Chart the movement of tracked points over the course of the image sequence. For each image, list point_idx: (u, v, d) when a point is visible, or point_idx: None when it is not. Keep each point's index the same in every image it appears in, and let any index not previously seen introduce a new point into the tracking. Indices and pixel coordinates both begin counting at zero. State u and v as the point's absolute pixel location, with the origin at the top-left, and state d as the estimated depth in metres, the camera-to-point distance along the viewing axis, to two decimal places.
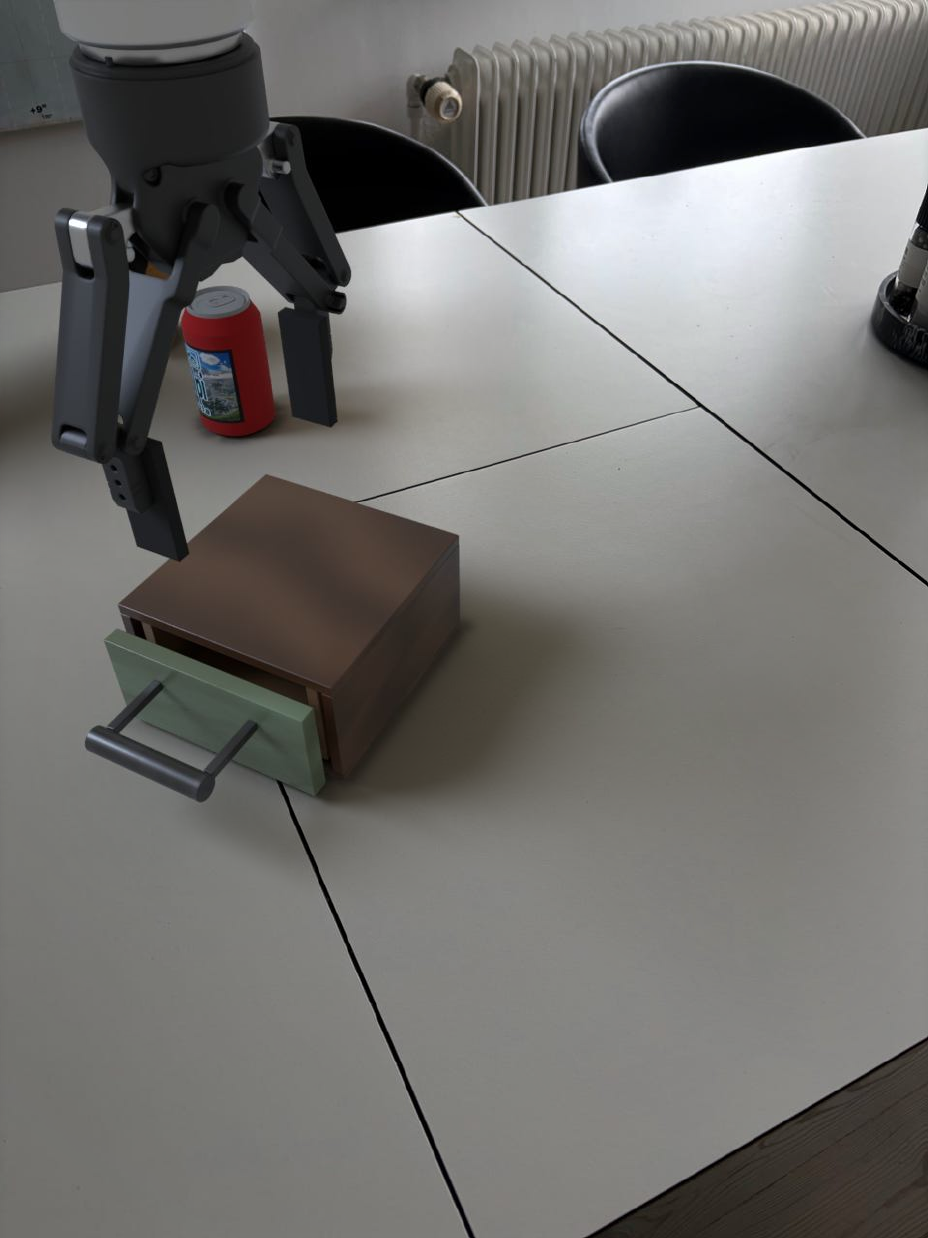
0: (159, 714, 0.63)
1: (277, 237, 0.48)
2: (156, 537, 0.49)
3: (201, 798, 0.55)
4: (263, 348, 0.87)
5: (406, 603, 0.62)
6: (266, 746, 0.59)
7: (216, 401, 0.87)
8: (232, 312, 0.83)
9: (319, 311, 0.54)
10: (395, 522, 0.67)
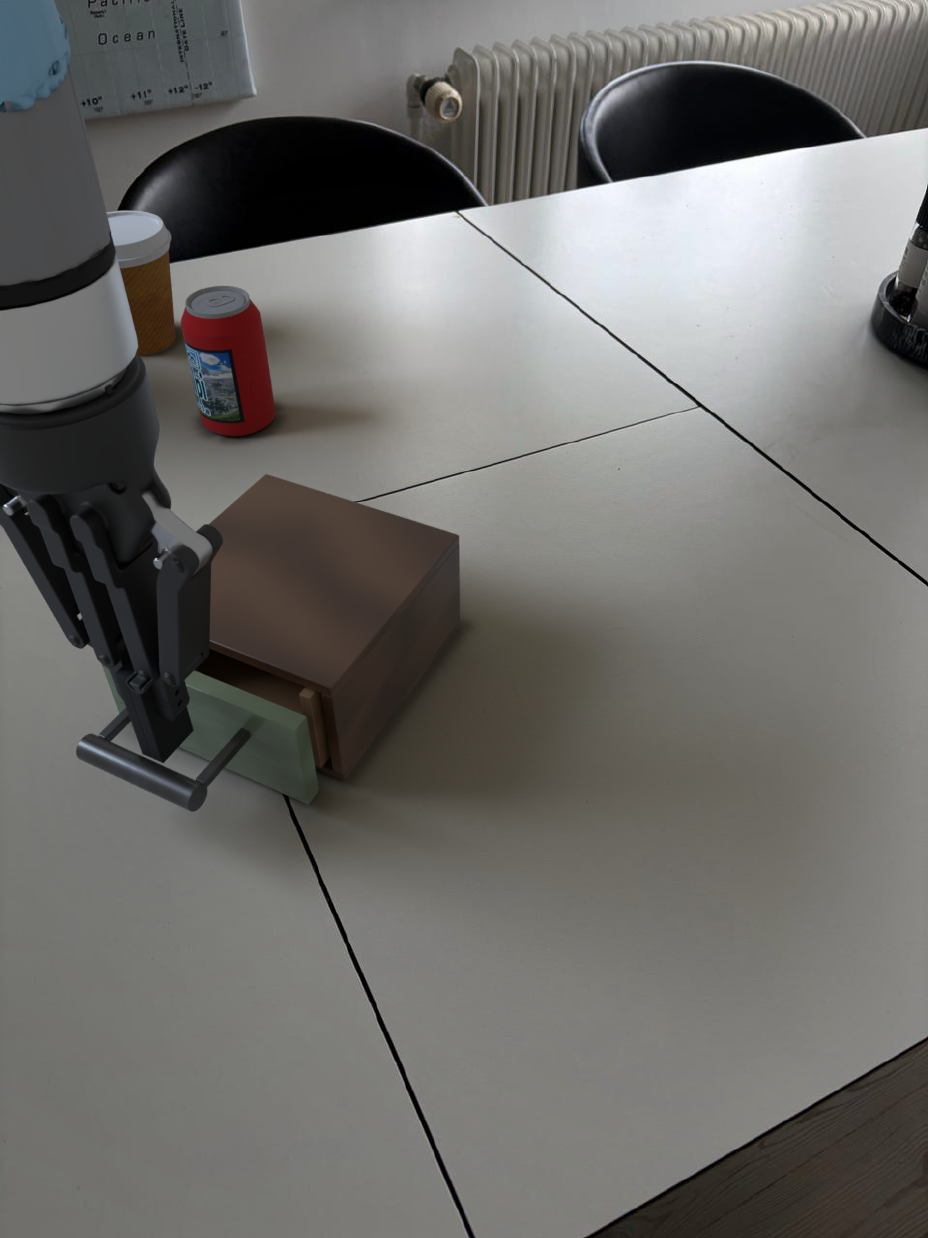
0: None
1: None
2: (177, 731, 0.56)
3: (193, 807, 0.54)
4: (263, 348, 0.87)
5: (406, 603, 0.62)
6: (259, 754, 0.59)
7: (216, 401, 0.87)
8: (232, 312, 0.83)
9: None
10: (395, 522, 0.67)
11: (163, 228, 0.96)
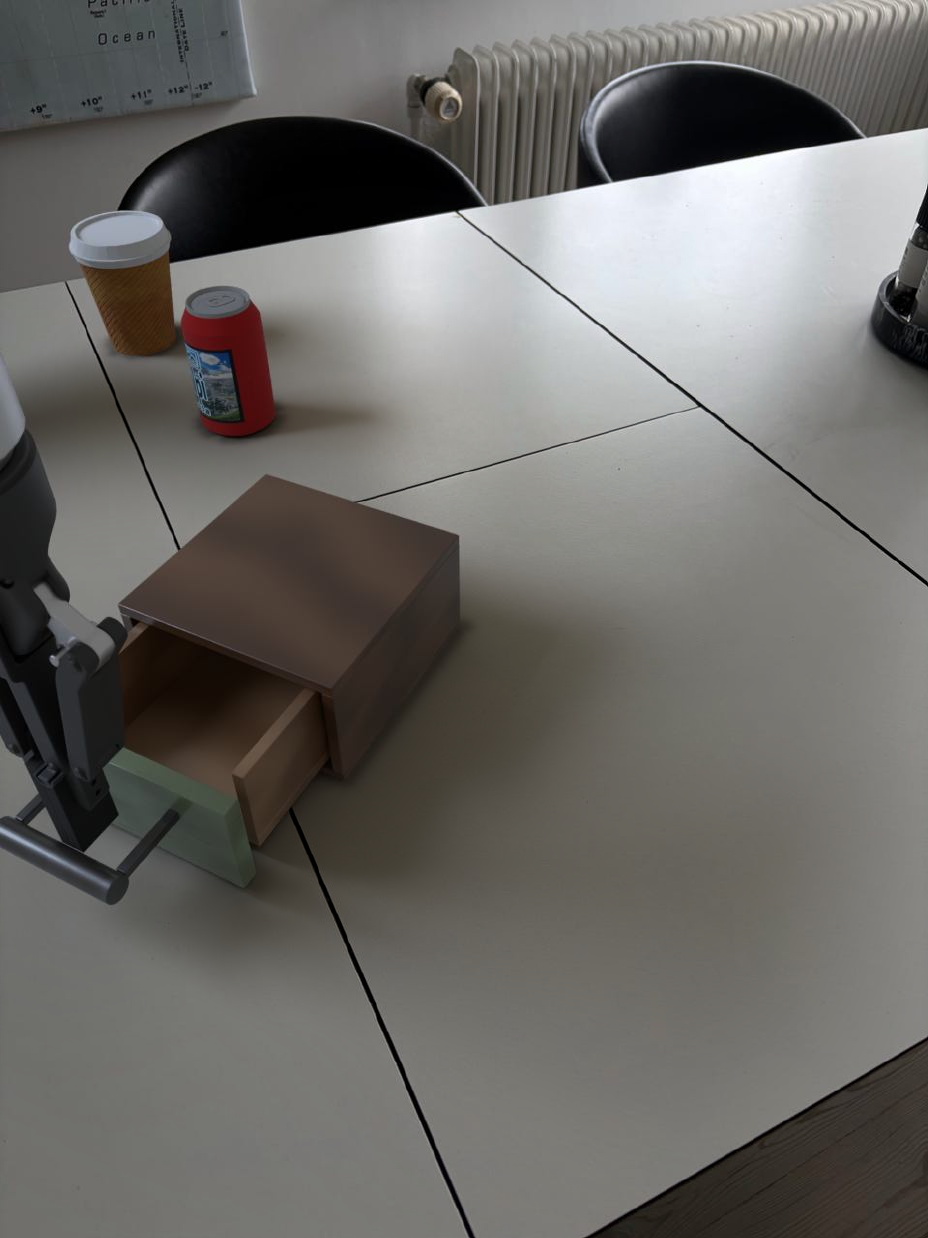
0: None
1: None
2: (98, 818, 0.52)
3: (112, 901, 0.50)
4: (263, 348, 0.87)
5: (406, 603, 0.62)
6: (190, 835, 0.55)
7: (216, 401, 0.87)
8: (232, 312, 0.83)
9: None
10: (395, 522, 0.67)
11: (163, 228, 0.96)
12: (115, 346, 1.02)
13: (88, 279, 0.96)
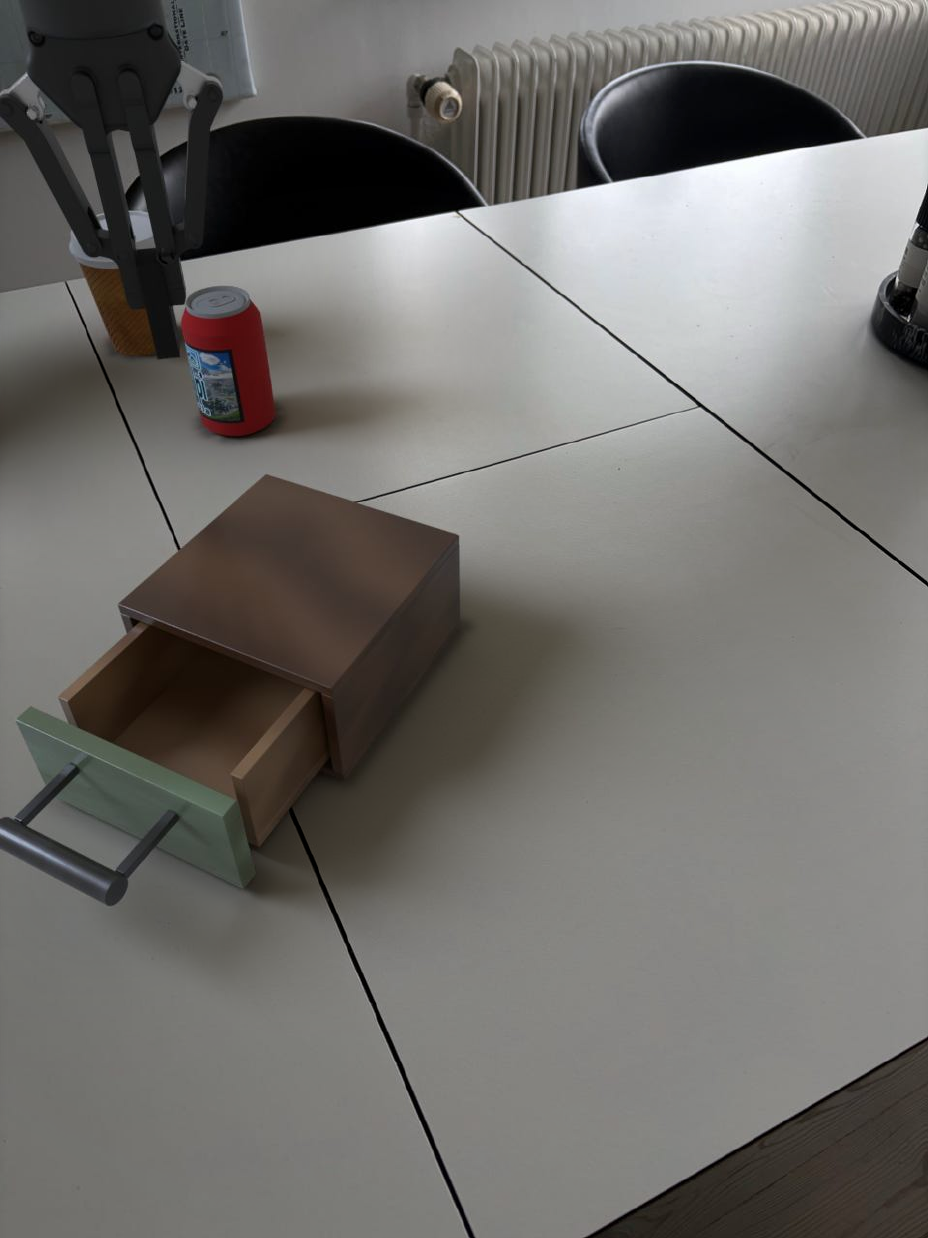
0: (79, 796, 0.59)
1: (143, 144, 0.59)
2: None
3: (111, 902, 0.50)
4: (263, 348, 0.87)
5: (406, 603, 0.62)
6: (189, 836, 0.55)
7: (216, 401, 0.87)
8: (232, 312, 0.83)
9: None
10: (395, 522, 0.67)
11: None
12: (115, 346, 1.02)
13: (88, 279, 0.96)
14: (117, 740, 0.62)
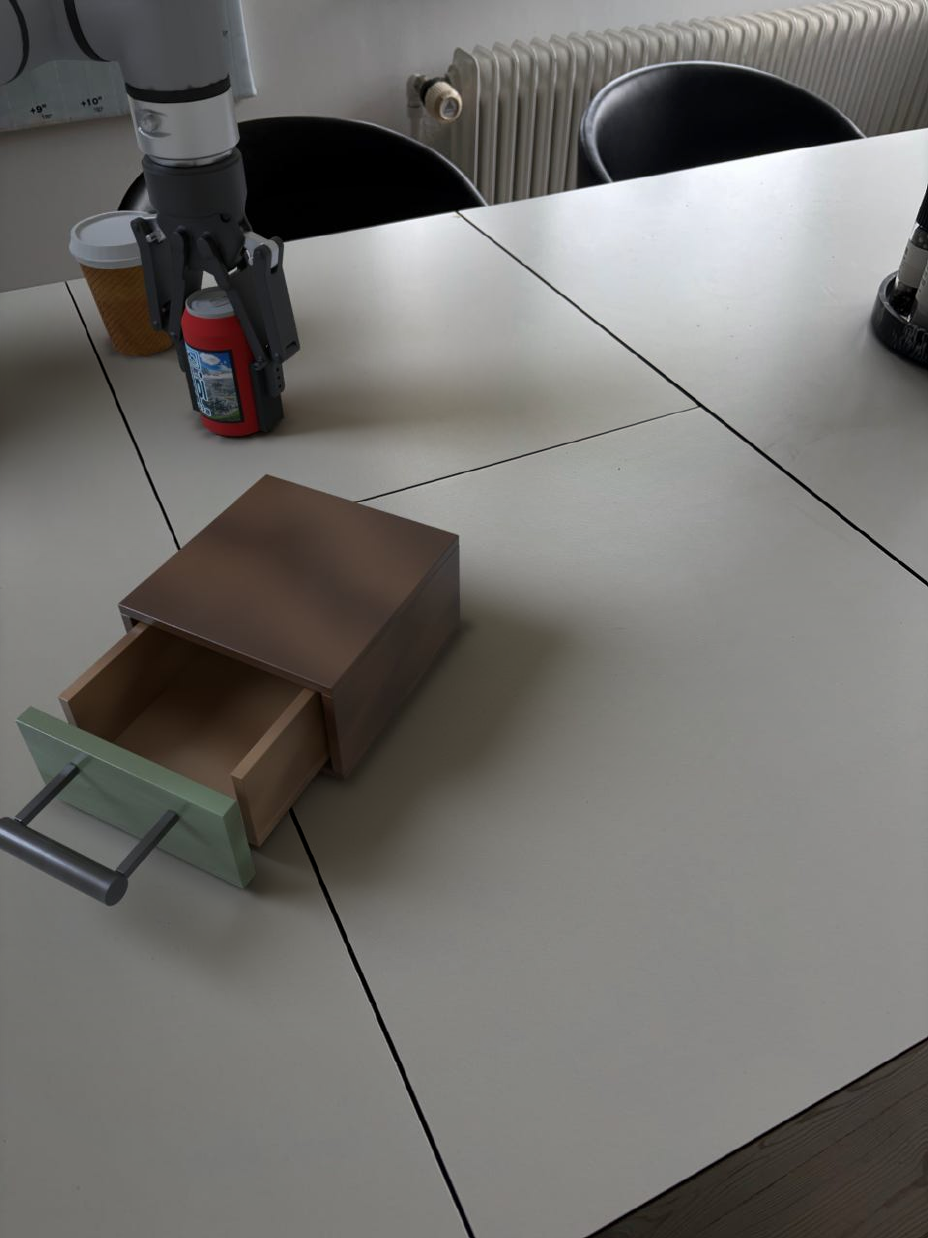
0: (79, 796, 0.59)
1: (223, 285, 0.81)
2: None
3: (111, 902, 0.50)
4: None
5: (406, 603, 0.62)
6: (189, 836, 0.55)
7: (216, 401, 0.87)
8: (232, 312, 0.83)
9: None
10: (395, 522, 0.67)
11: None
12: (115, 346, 1.02)
13: (88, 279, 0.96)
14: (117, 740, 0.62)
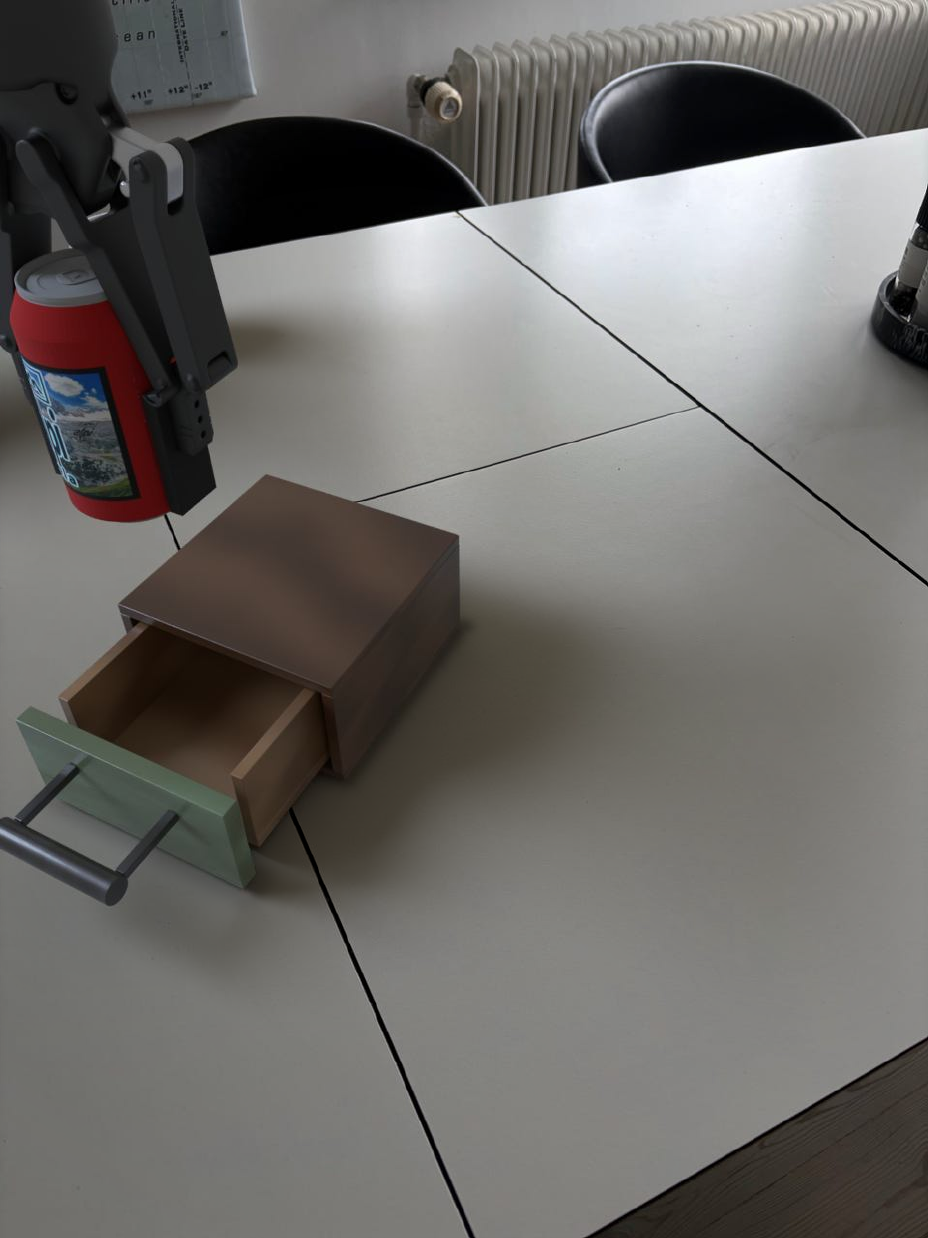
0: (79, 796, 0.59)
1: (78, 241, 0.40)
2: None
3: (111, 902, 0.50)
4: None
5: (406, 603, 0.62)
6: (189, 836, 0.55)
7: (84, 463, 0.47)
8: (102, 295, 0.42)
9: None
10: (395, 522, 0.67)
11: None
12: None
13: None
14: (117, 740, 0.62)
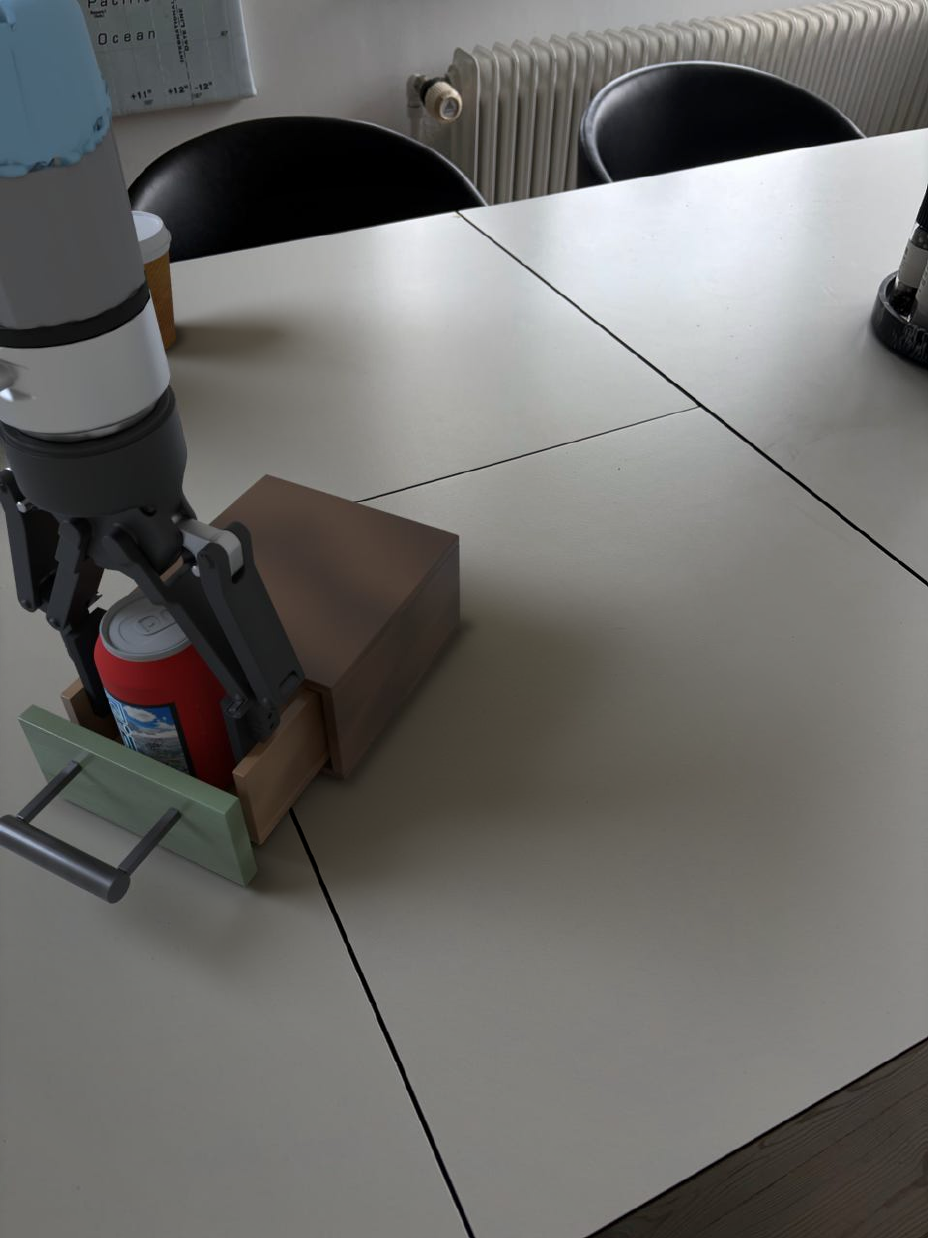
0: (81, 794, 0.59)
1: (158, 601, 0.48)
2: None
3: (113, 899, 0.50)
4: None
5: (406, 603, 0.62)
6: (191, 834, 0.55)
7: None
8: (174, 650, 0.51)
9: None
10: (395, 522, 0.67)
11: (163, 228, 0.96)
12: None
13: None
14: (118, 738, 0.62)
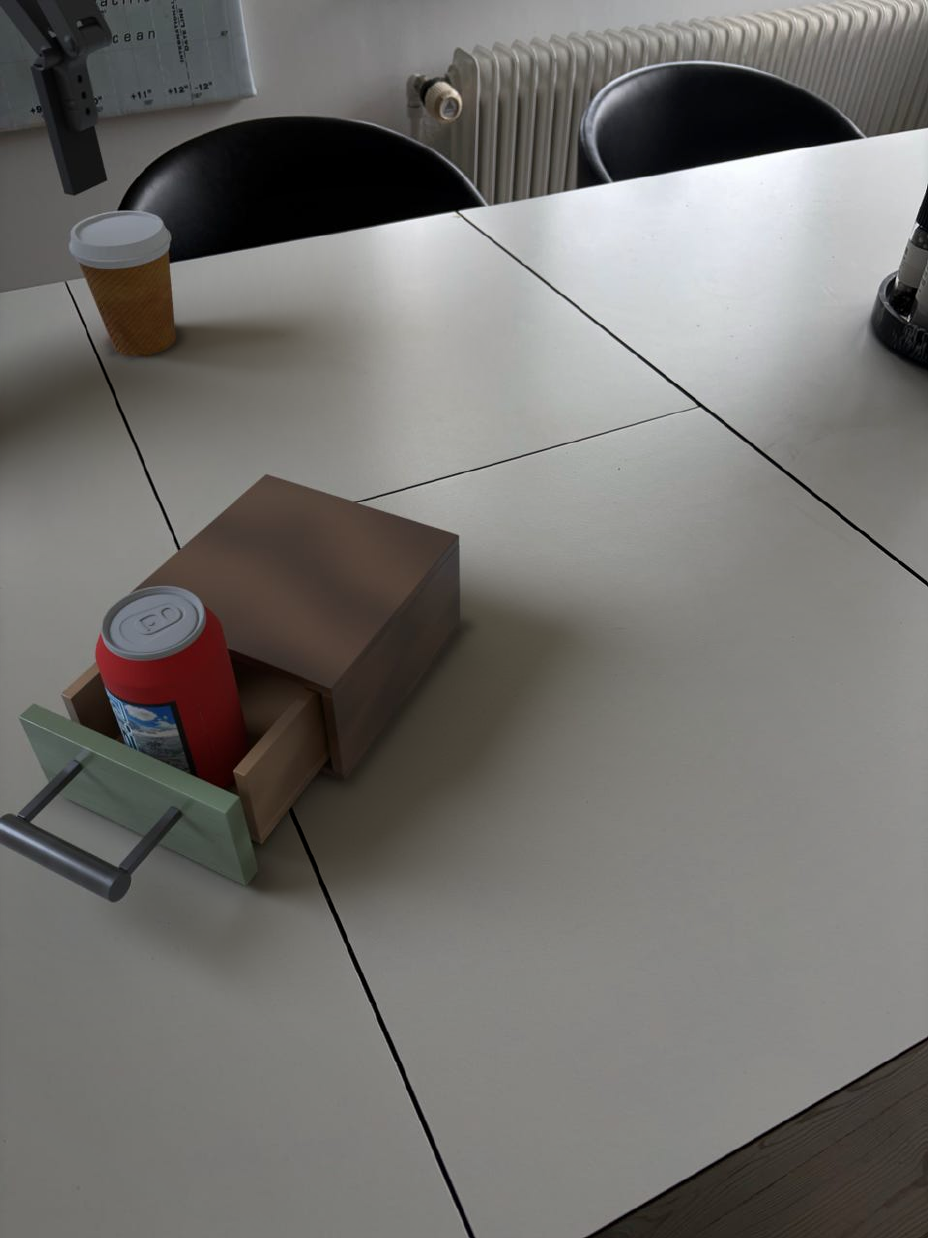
0: (82, 793, 0.59)
1: None
2: None
3: (114, 898, 0.50)
4: (228, 681, 0.55)
5: (406, 603, 0.62)
6: (192, 833, 0.55)
7: None
8: (175, 649, 0.51)
9: None
10: (395, 522, 0.67)
11: (163, 228, 0.96)
12: (115, 346, 1.02)
13: (88, 279, 0.96)
14: (119, 738, 0.62)
